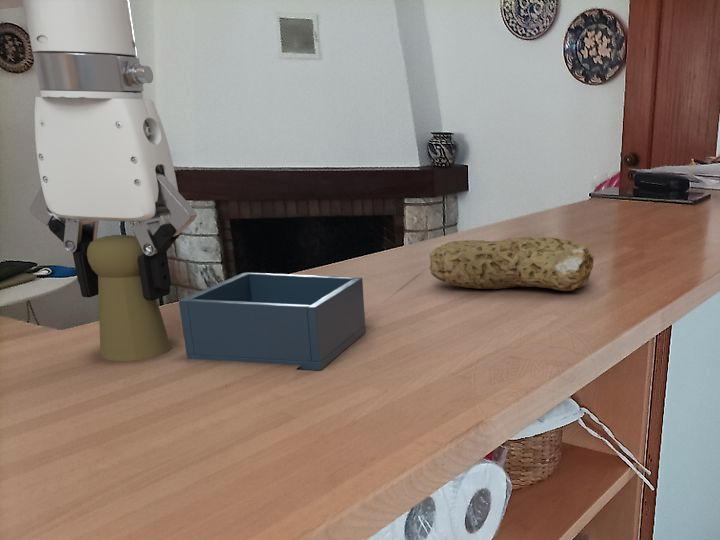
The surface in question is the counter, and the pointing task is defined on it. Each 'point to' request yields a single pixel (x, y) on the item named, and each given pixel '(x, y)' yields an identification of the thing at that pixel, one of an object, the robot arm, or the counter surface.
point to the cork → (125, 302)
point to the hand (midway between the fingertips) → (126, 293)
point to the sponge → (513, 263)
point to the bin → (274, 319)
